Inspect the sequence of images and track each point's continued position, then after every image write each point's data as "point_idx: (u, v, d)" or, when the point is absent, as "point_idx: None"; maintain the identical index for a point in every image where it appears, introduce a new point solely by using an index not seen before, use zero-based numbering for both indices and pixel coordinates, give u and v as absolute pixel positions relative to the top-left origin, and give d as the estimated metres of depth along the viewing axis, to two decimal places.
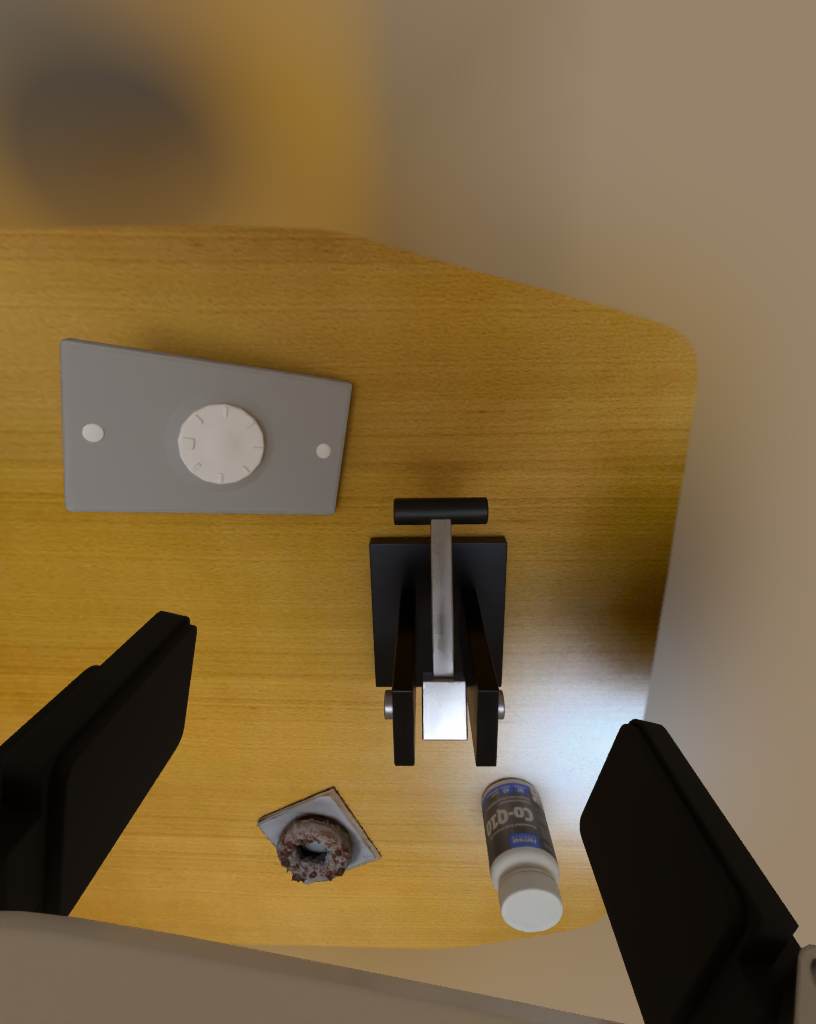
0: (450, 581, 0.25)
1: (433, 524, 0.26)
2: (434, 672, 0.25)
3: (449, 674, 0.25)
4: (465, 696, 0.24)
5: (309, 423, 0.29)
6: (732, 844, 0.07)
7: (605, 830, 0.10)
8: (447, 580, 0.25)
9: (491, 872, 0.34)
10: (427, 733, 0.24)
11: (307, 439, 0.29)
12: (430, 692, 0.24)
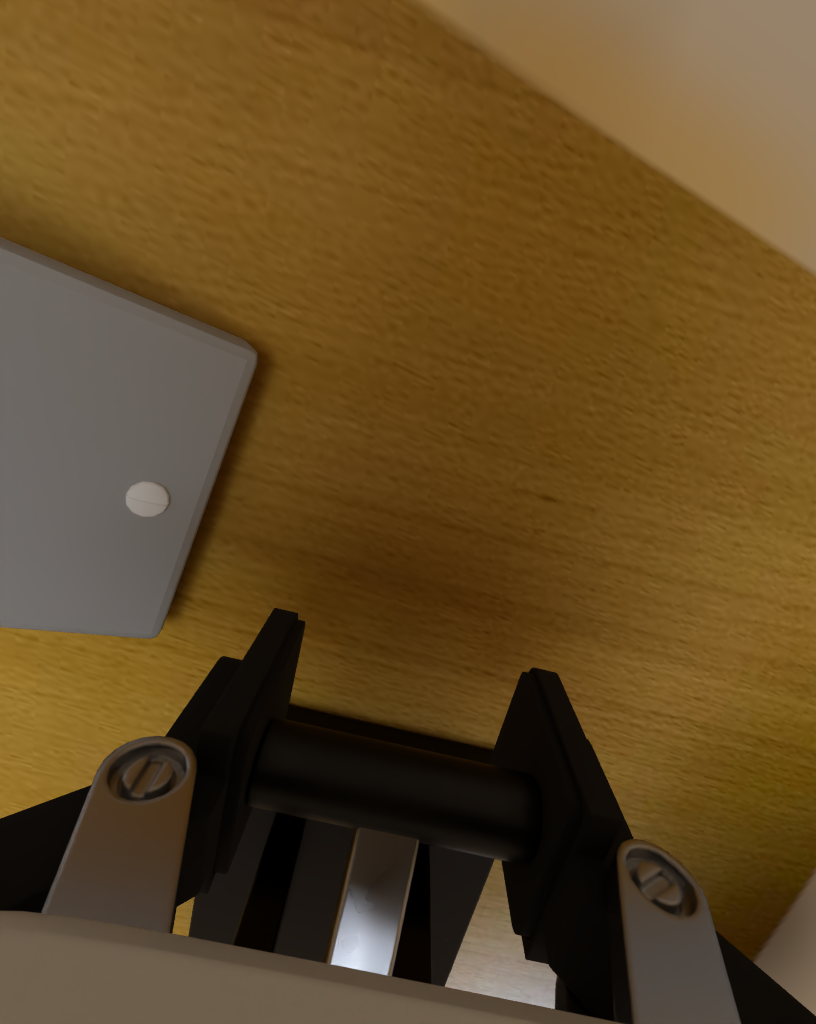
0: None
1: (363, 844, 0.08)
2: None
3: None
4: None
5: (116, 423, 0.11)
6: (586, 762, 0.08)
7: None
8: None
9: None
10: None
11: (104, 463, 0.11)
12: None
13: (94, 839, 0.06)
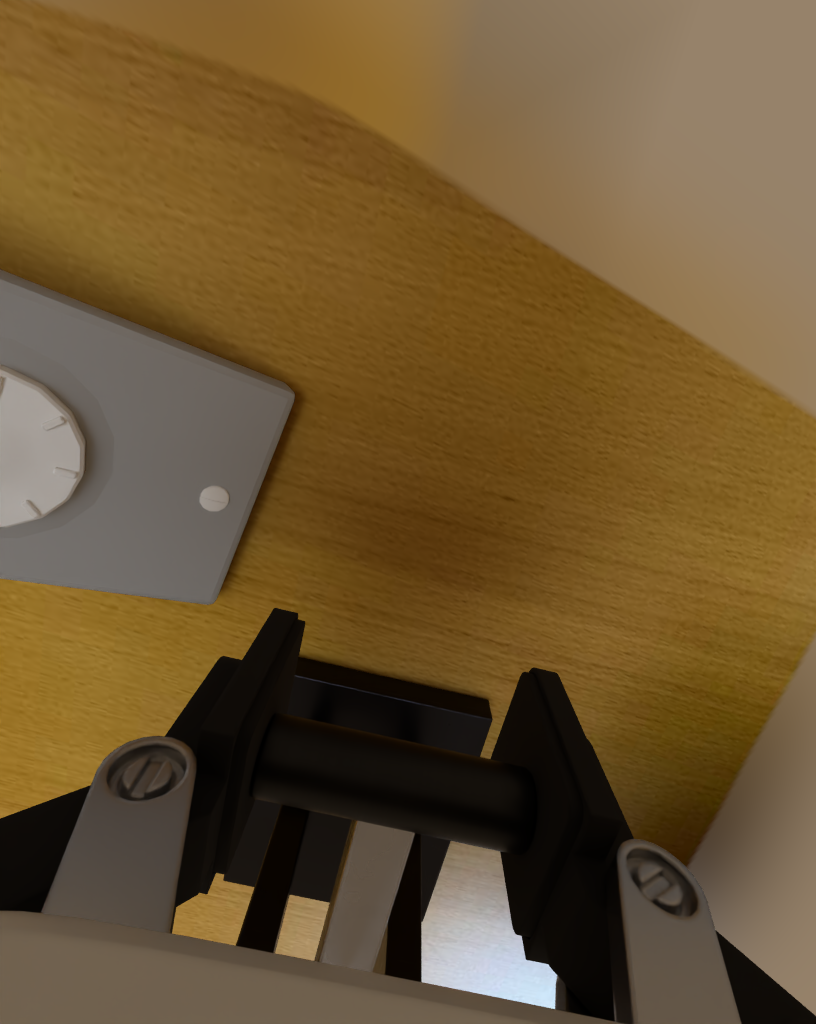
0: (371, 960, 0.10)
1: (362, 833, 0.09)
2: None
3: None
4: None
5: (196, 445, 0.15)
6: (586, 762, 0.08)
7: None
8: (363, 958, 0.10)
9: None
10: None
11: (186, 472, 0.15)
12: None
13: (94, 839, 0.06)
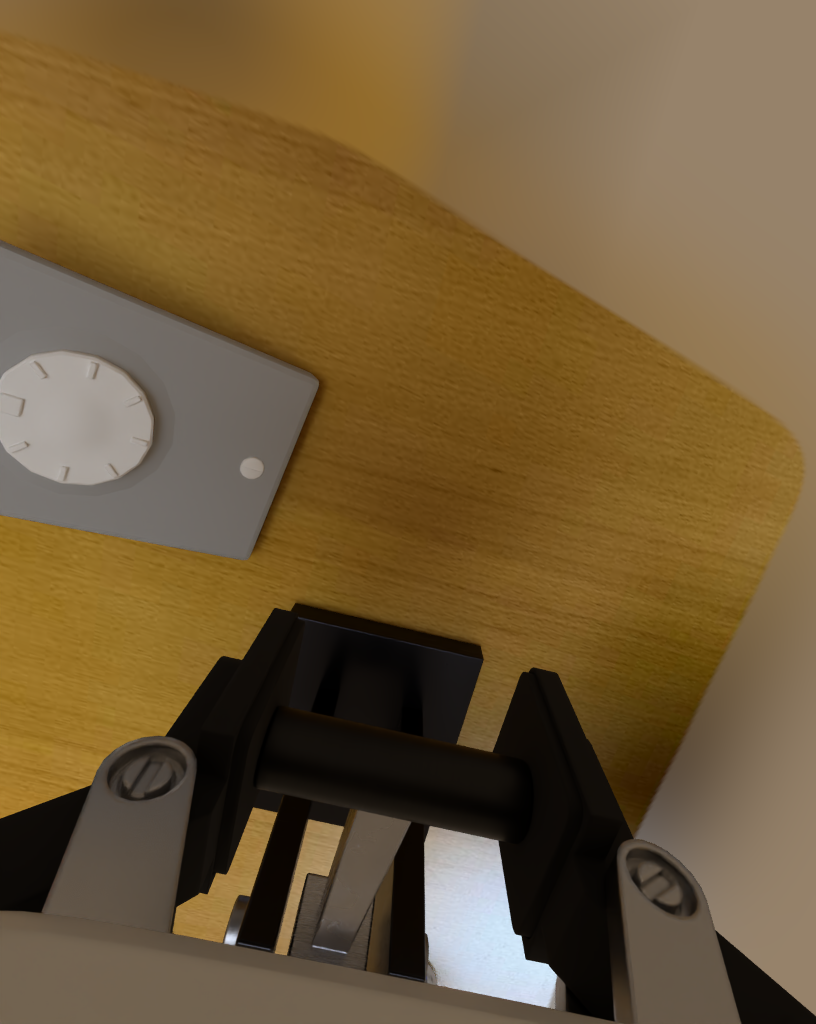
0: (377, 884, 0.11)
1: (363, 815, 0.09)
2: (314, 943, 0.13)
3: (341, 949, 0.14)
4: None
5: (239, 422, 0.19)
6: (586, 762, 0.08)
7: None
8: (370, 883, 0.11)
9: None
10: None
11: (230, 445, 0.19)
12: None
13: (94, 839, 0.06)
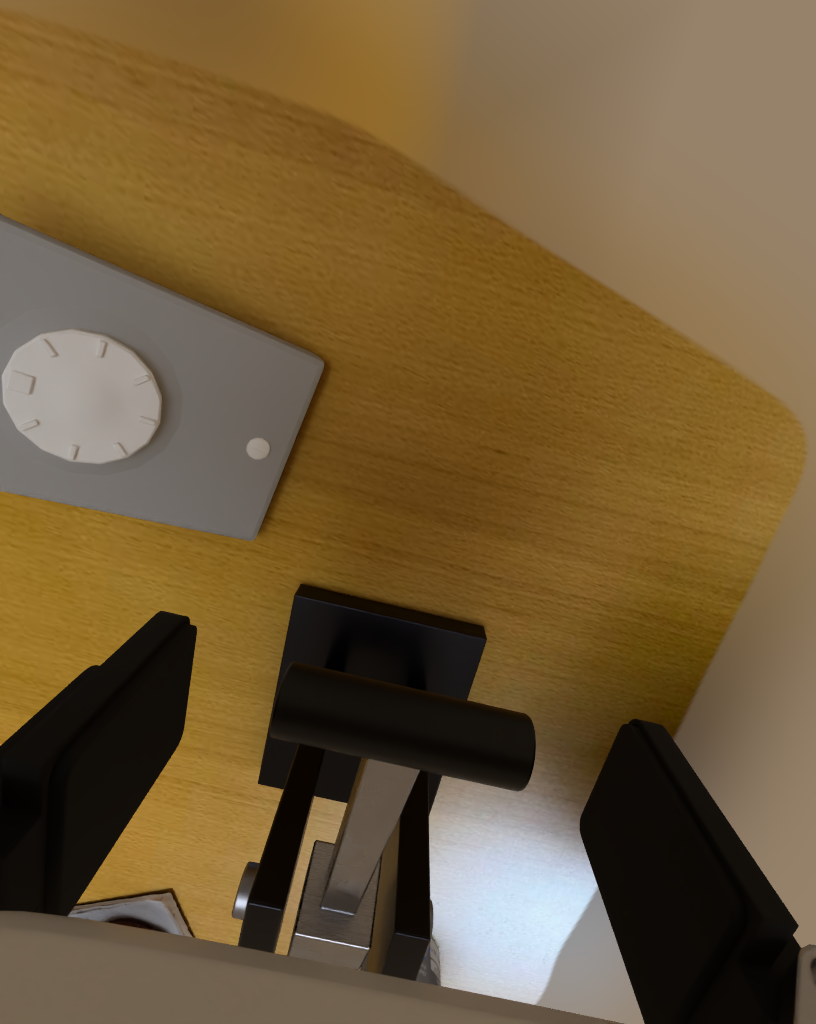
0: (385, 839, 0.11)
1: (373, 765, 0.10)
2: (323, 905, 0.14)
3: (348, 910, 0.14)
4: (364, 957, 0.14)
5: (245, 402, 0.19)
6: (732, 844, 0.07)
7: (605, 831, 0.10)
8: (378, 838, 0.11)
9: None
10: None
11: (237, 425, 0.19)
12: (306, 943, 0.14)
13: None
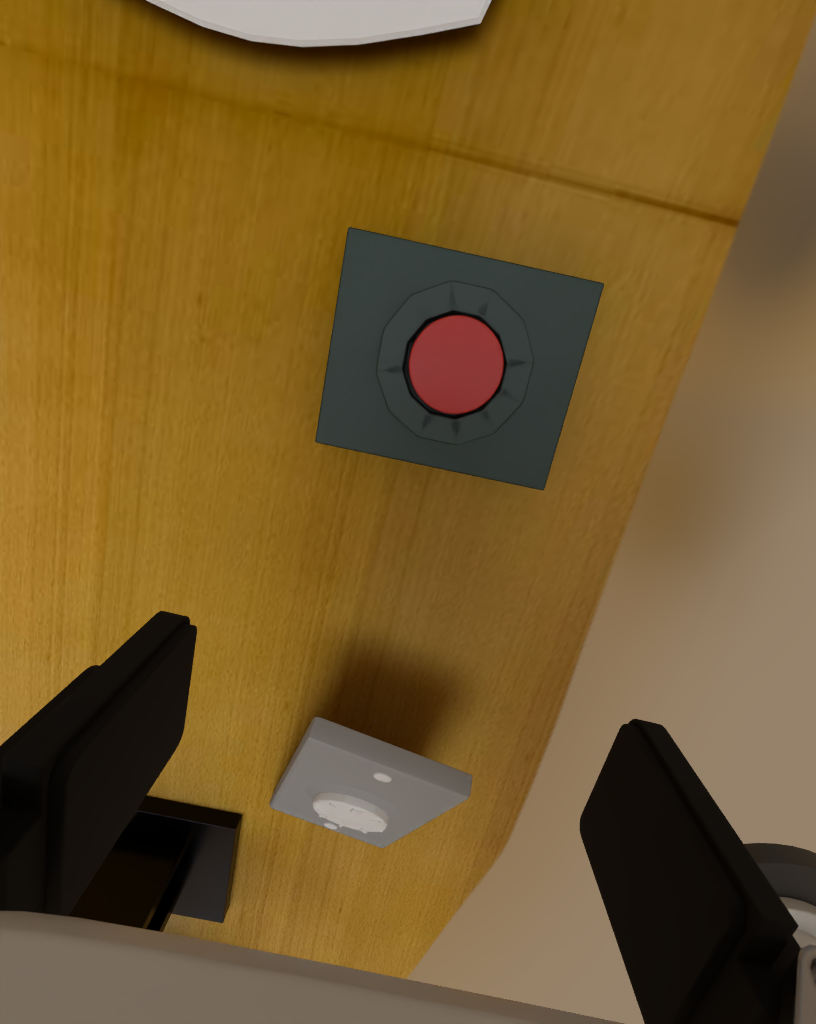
0: None
1: None
2: None
3: None
4: None
5: (356, 830, 0.32)
6: (732, 844, 0.07)
7: (605, 831, 0.10)
8: None
9: None
10: None
11: None
12: None
13: None
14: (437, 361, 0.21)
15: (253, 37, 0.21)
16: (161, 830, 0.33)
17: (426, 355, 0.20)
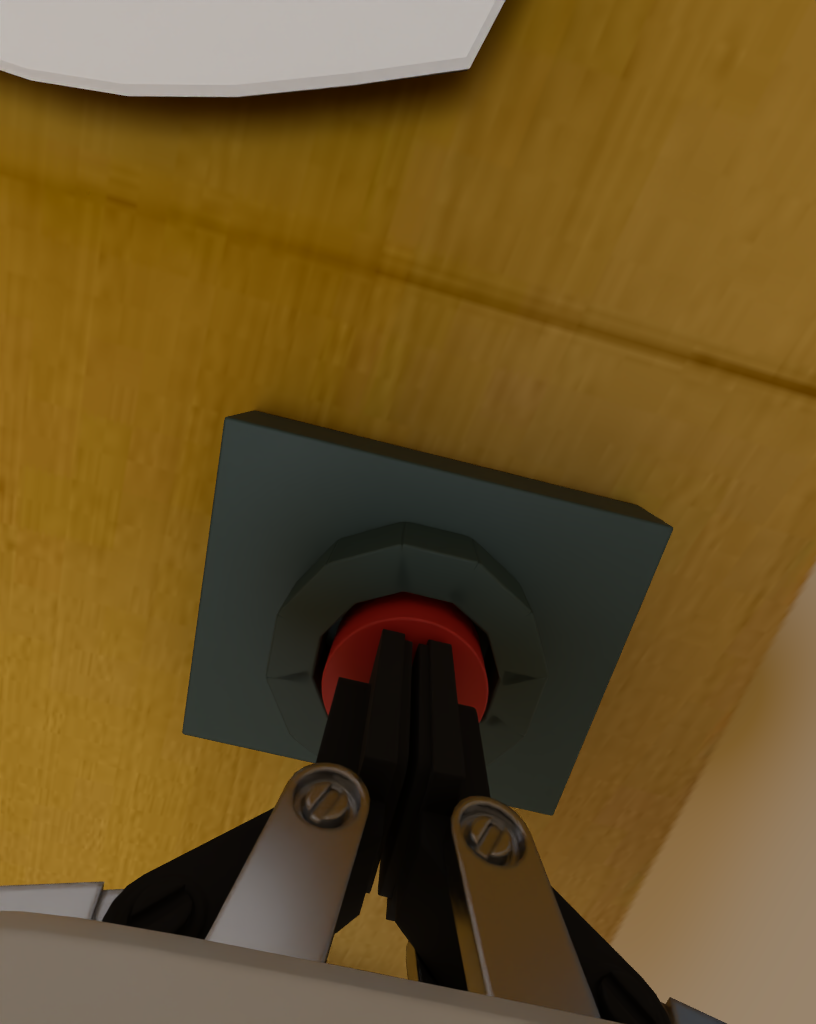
0: None
1: None
2: None
3: None
4: None
5: None
6: (449, 724, 0.08)
7: None
8: None
9: None
10: None
11: None
12: None
13: (274, 850, 0.06)
14: None
15: (31, 74, 0.11)
16: None
17: (352, 674, 0.12)
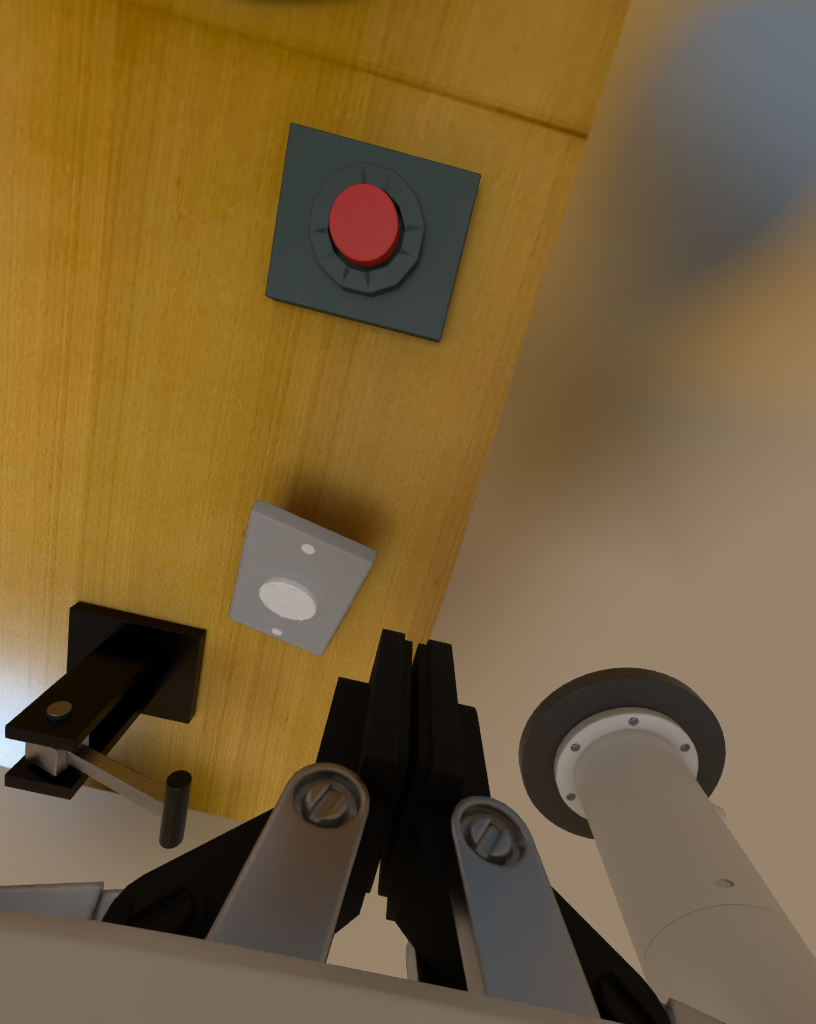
0: (122, 794, 0.32)
1: (160, 805, 0.31)
2: (69, 753, 0.33)
3: (68, 761, 0.33)
4: (47, 771, 0.33)
5: (297, 633, 0.40)
6: (449, 724, 0.08)
7: None
8: (122, 792, 0.32)
9: None
10: None
11: (286, 628, 0.39)
12: (50, 752, 0.32)
13: (274, 850, 0.06)
14: (350, 219, 0.28)
15: None
16: (139, 637, 0.41)
17: (341, 213, 0.28)
